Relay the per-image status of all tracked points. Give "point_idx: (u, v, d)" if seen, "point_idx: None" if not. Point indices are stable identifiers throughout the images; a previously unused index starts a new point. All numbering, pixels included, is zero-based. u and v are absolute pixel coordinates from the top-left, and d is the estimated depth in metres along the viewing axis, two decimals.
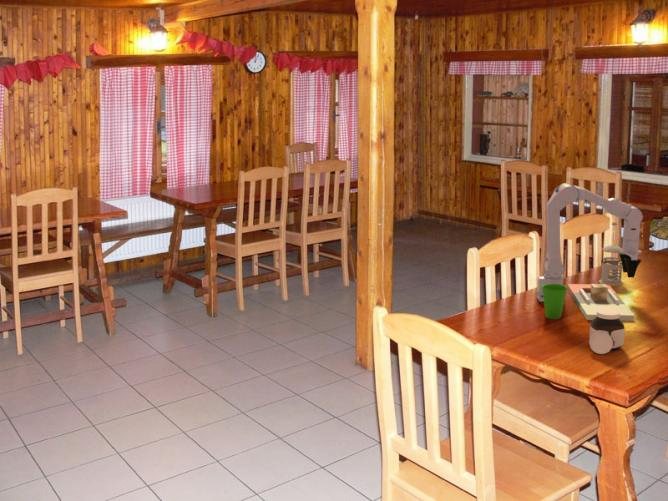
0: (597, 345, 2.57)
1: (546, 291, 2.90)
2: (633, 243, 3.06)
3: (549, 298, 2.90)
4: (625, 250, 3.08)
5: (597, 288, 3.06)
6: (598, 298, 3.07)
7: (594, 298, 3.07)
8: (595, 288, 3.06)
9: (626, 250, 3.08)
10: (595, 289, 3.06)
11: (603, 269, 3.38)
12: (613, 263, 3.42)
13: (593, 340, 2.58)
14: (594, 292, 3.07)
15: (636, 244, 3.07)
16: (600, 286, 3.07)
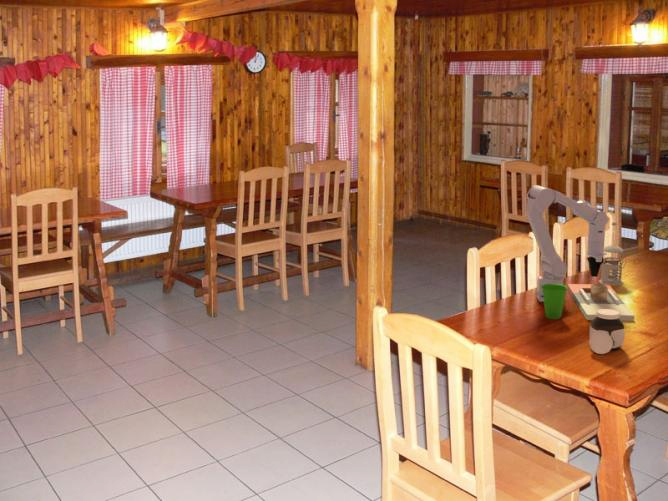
0: (597, 345, 2.57)
1: (546, 291, 2.90)
2: (598, 245, 3.13)
3: (549, 298, 2.90)
4: (590, 252, 3.15)
5: (597, 288, 3.06)
6: (598, 298, 3.07)
7: (594, 298, 3.07)
8: (595, 288, 3.06)
9: (591, 252, 3.15)
10: (595, 289, 3.06)
11: (603, 269, 3.38)
12: (613, 263, 3.42)
13: (593, 340, 2.58)
14: (594, 292, 3.07)
15: (601, 246, 3.13)
16: (600, 286, 3.07)
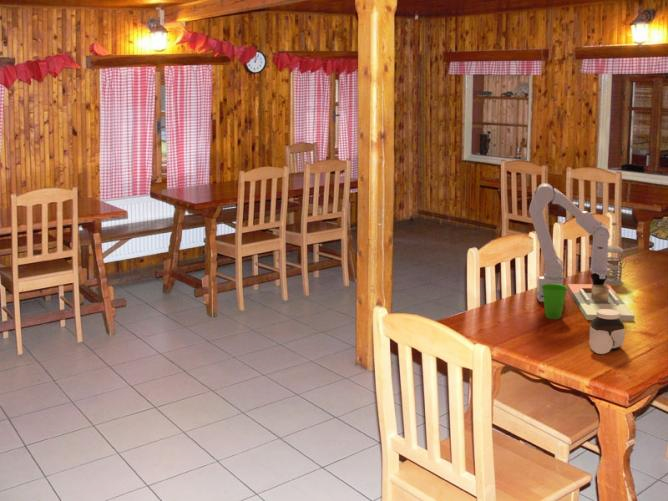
0: (597, 345, 2.57)
1: (546, 291, 2.90)
2: (601, 262, 3.06)
3: (549, 298, 2.90)
4: (594, 268, 3.08)
5: (598, 289, 3.05)
6: (599, 299, 3.06)
7: (595, 299, 3.06)
8: (596, 289, 3.05)
9: (595, 269, 3.08)
10: (596, 290, 3.05)
11: None
12: (613, 263, 3.42)
13: (593, 340, 2.58)
14: (595, 293, 3.05)
15: (604, 263, 3.07)
16: (601, 287, 3.06)
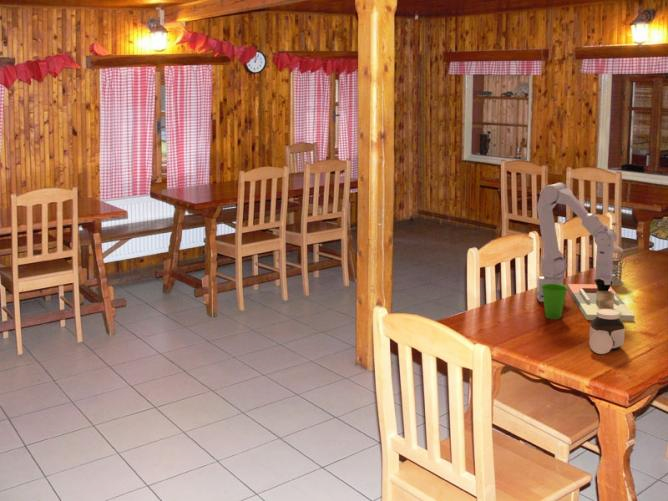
0: (597, 345, 2.57)
1: (546, 291, 2.90)
2: (606, 267, 2.98)
3: (549, 298, 2.90)
4: (598, 274, 3.00)
5: (603, 295, 2.97)
6: (604, 306, 2.97)
7: (600, 306, 2.97)
8: (601, 295, 2.97)
9: (599, 274, 3.00)
10: (601, 296, 2.97)
11: None
12: (613, 263, 3.42)
13: (593, 340, 2.58)
14: (600, 299, 2.97)
15: (609, 268, 2.98)
16: (606, 293, 2.98)
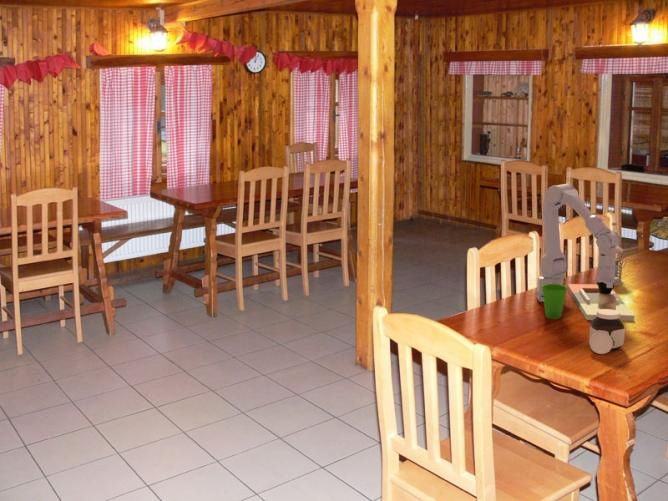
0: (597, 345, 2.57)
1: (546, 291, 2.90)
2: (609, 270, 2.94)
3: (549, 298, 2.90)
4: (600, 277, 2.96)
5: (605, 298, 2.93)
6: None
7: None
8: (603, 298, 2.93)
9: (602, 277, 2.96)
10: (603, 299, 2.93)
11: None
12: None
13: (593, 340, 2.58)
14: (602, 303, 2.93)
15: (612, 271, 2.95)
16: (608, 296, 2.94)
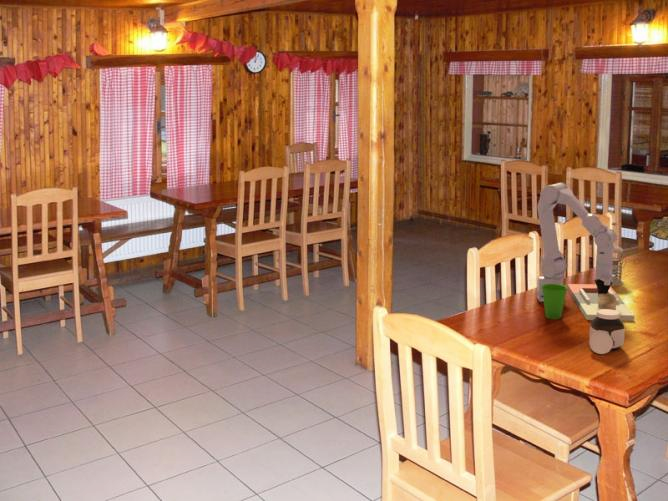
0: (597, 345, 2.57)
1: (546, 291, 2.90)
2: (606, 267, 2.98)
3: (549, 298, 2.90)
4: (598, 274, 3.00)
5: (605, 298, 2.93)
6: None
7: None
8: (603, 298, 2.93)
9: (599, 274, 2.99)
10: (603, 299, 2.93)
11: None
12: (613, 263, 3.42)
13: (593, 340, 2.58)
14: (602, 303, 2.93)
15: (609, 268, 2.98)
16: (608, 296, 2.94)
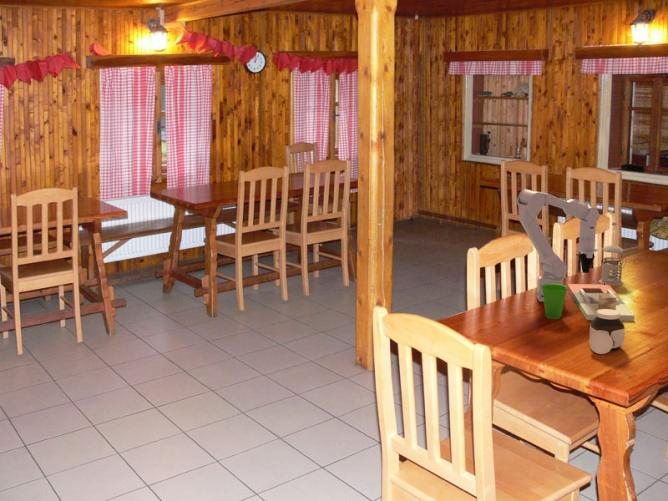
0: (597, 345, 2.57)
1: (546, 291, 2.90)
2: (589, 241, 3.13)
3: (549, 298, 2.90)
4: (581, 248, 3.15)
5: (605, 298, 2.93)
6: None
7: None
8: (603, 298, 2.93)
9: (582, 248, 3.14)
10: (603, 299, 2.93)
11: (603, 269, 3.38)
12: (613, 263, 3.42)
13: (593, 340, 2.58)
14: (602, 303, 2.93)
15: (592, 242, 3.13)
16: (608, 296, 2.94)
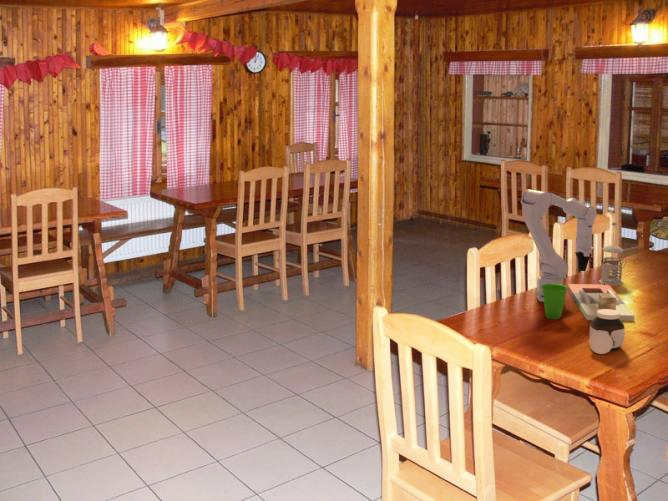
0: (597, 345, 2.57)
1: (546, 291, 2.90)
2: (586, 240, 3.16)
3: (549, 298, 2.90)
4: (578, 247, 3.17)
5: (605, 298, 2.93)
6: None
7: None
8: (603, 298, 2.93)
9: (579, 247, 3.17)
10: (603, 299, 2.93)
11: (603, 269, 3.38)
12: (613, 263, 3.42)
13: (593, 340, 2.58)
14: (602, 303, 2.93)
15: (589, 241, 3.16)
16: (608, 296, 2.94)
